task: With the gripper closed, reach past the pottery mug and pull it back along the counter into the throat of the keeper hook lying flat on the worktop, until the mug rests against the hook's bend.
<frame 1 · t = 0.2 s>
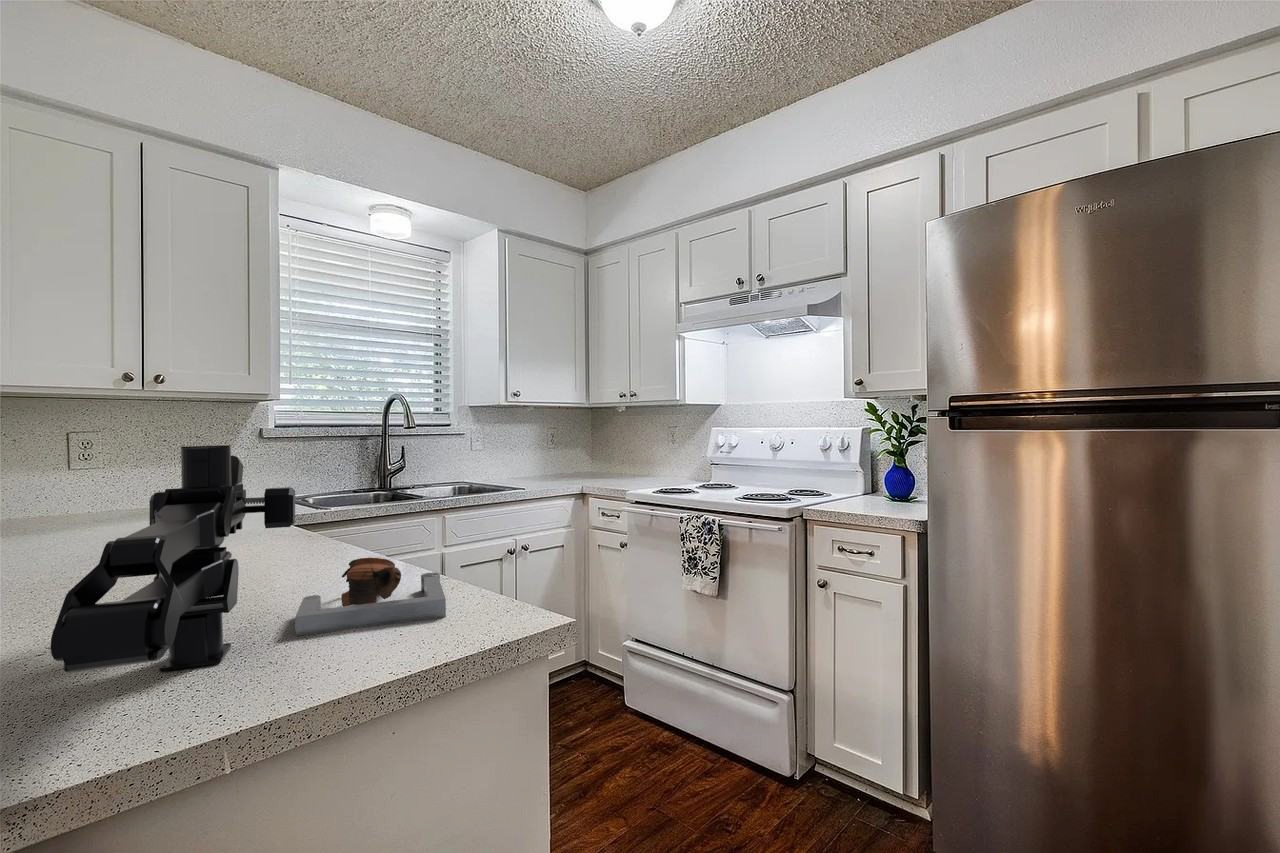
hand: (238, 503, 104), 17 cm above the counter, tool horizontal, fingers open, 9 cm apart
pottery mug: (373, 601, 106), on the counter
keeper hook: (377, 620, 95), on the counter
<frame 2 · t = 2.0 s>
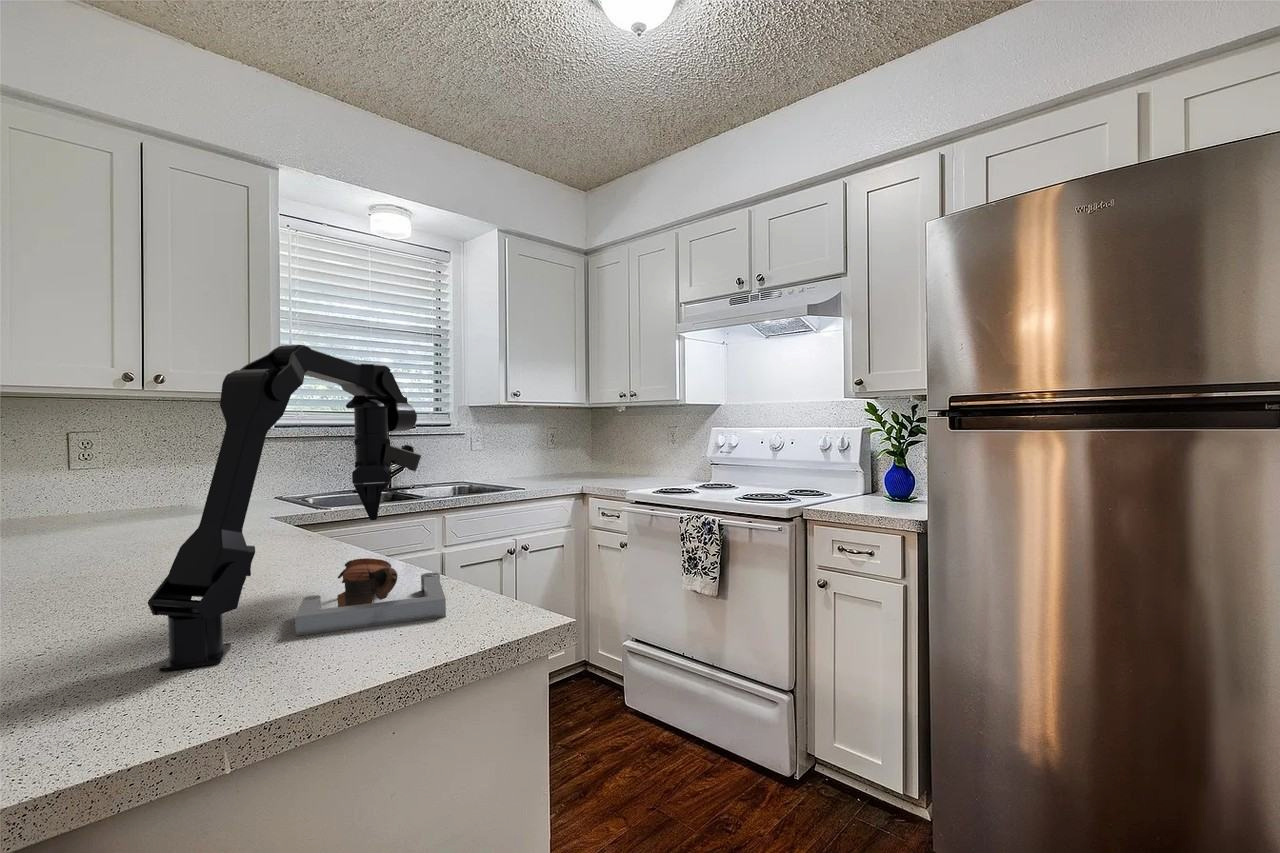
hand: (373, 517, 115), 13 cm above the counter, tool pointing down, fingers open, 7 cm apart
nothing on the counter moved.
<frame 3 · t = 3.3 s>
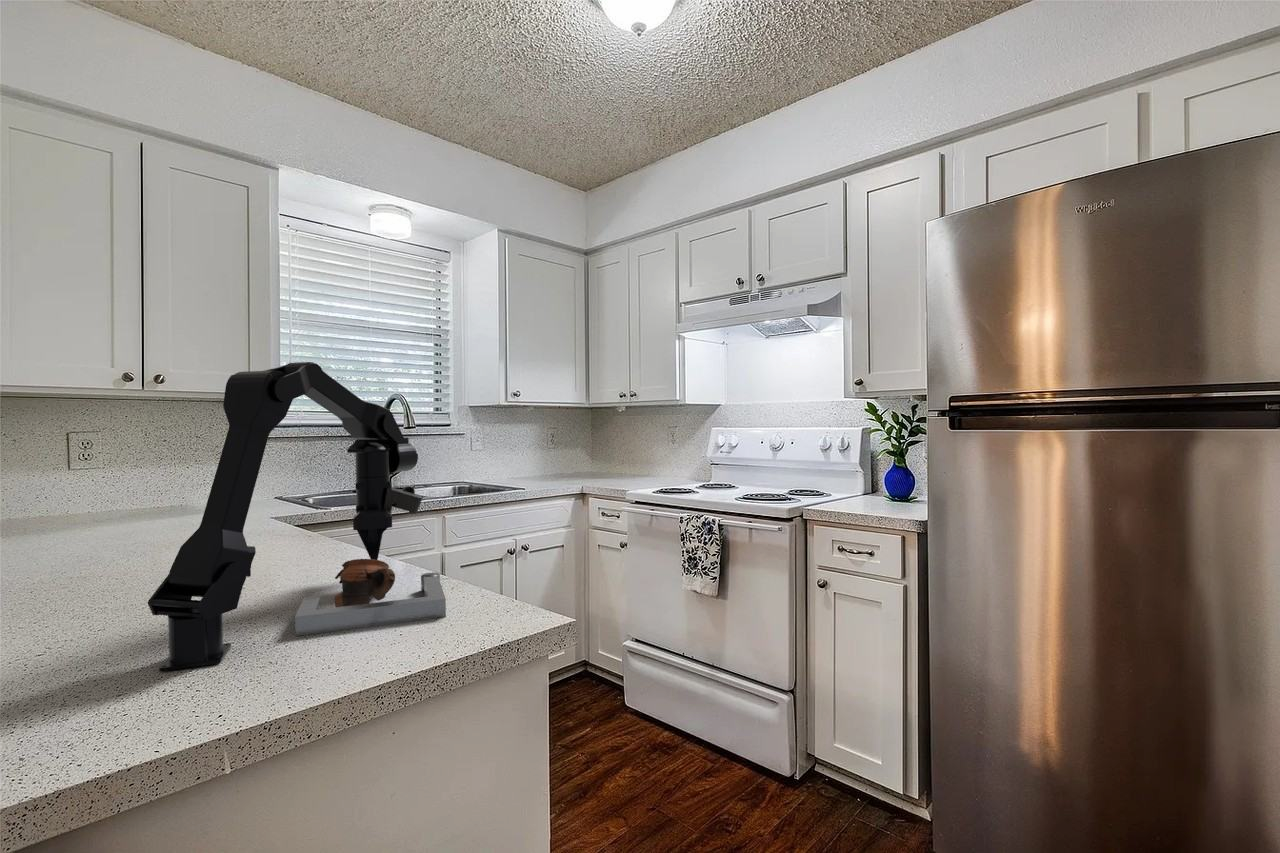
hand: (374, 559, 115), 5 cm above the counter, tool pointing down, fingers closed
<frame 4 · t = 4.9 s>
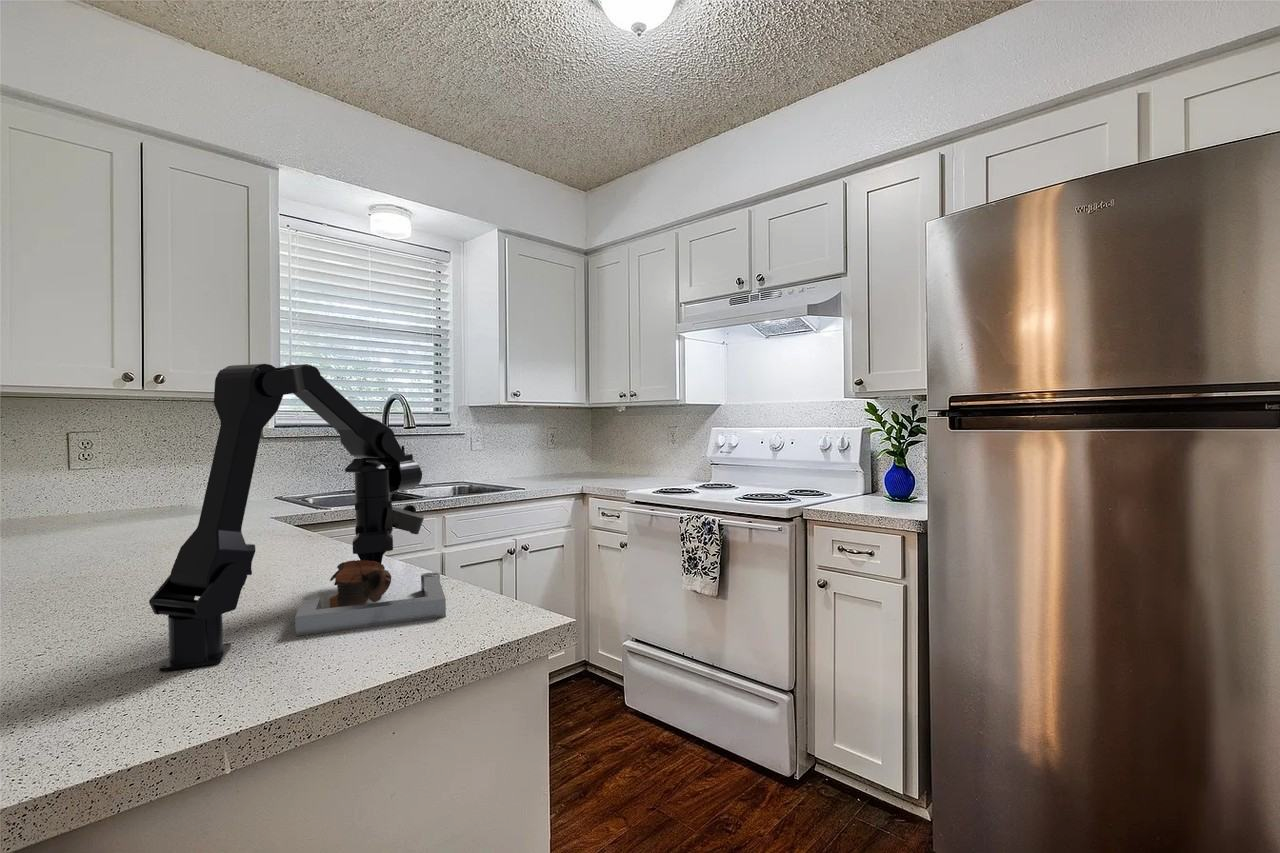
hand: (374, 582, 111), 1 cm above the counter, tool pointing down, fingers closed
pottery mug: (363, 604, 104), on the counter, touching gripper
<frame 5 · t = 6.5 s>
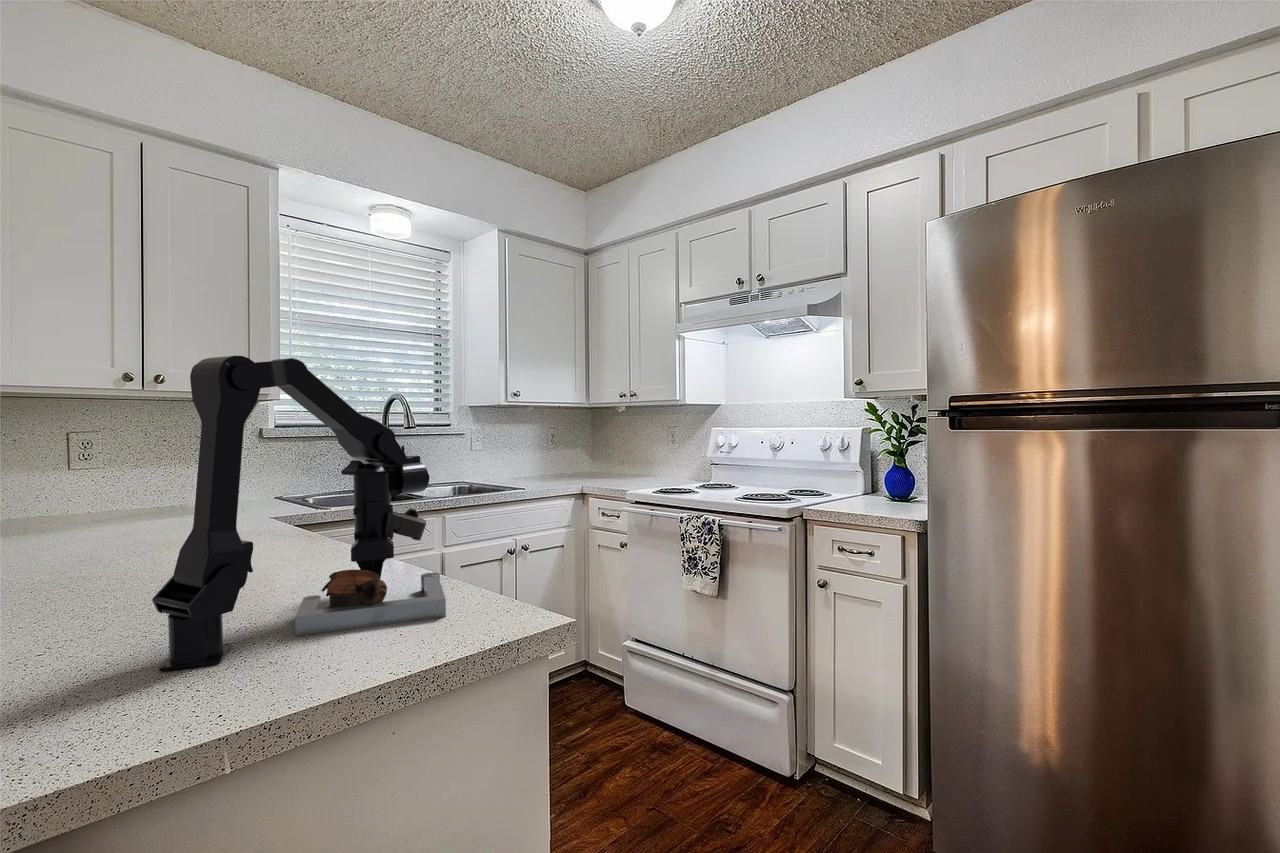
hand: (374, 590, 106), 2 cm above the counter, tool pointing down, fingers closed
pottery mug: (356, 616, 98), on the counter
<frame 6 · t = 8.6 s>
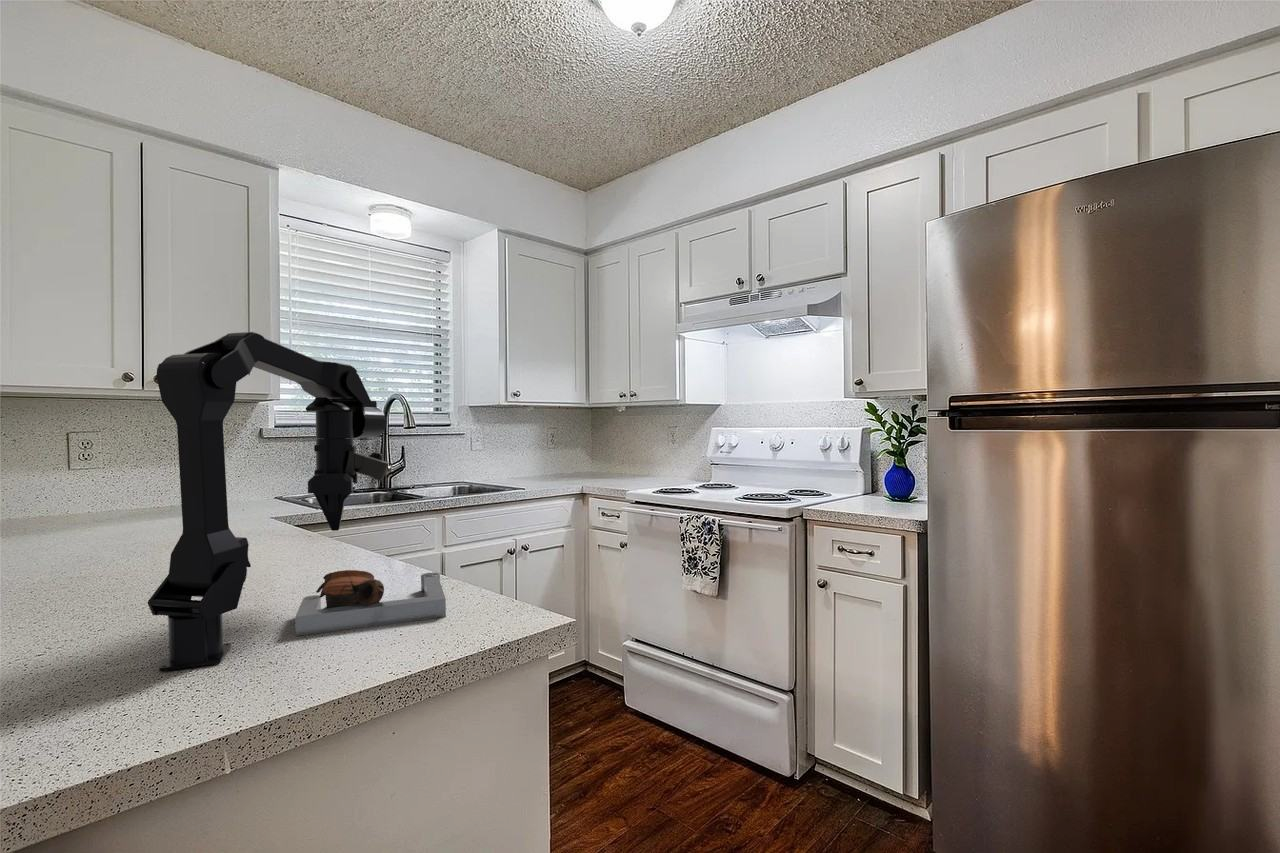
hand: (335, 530, 106), 12 cm above the counter, tool pointing down, fingers closed
nothing on the counter moved.
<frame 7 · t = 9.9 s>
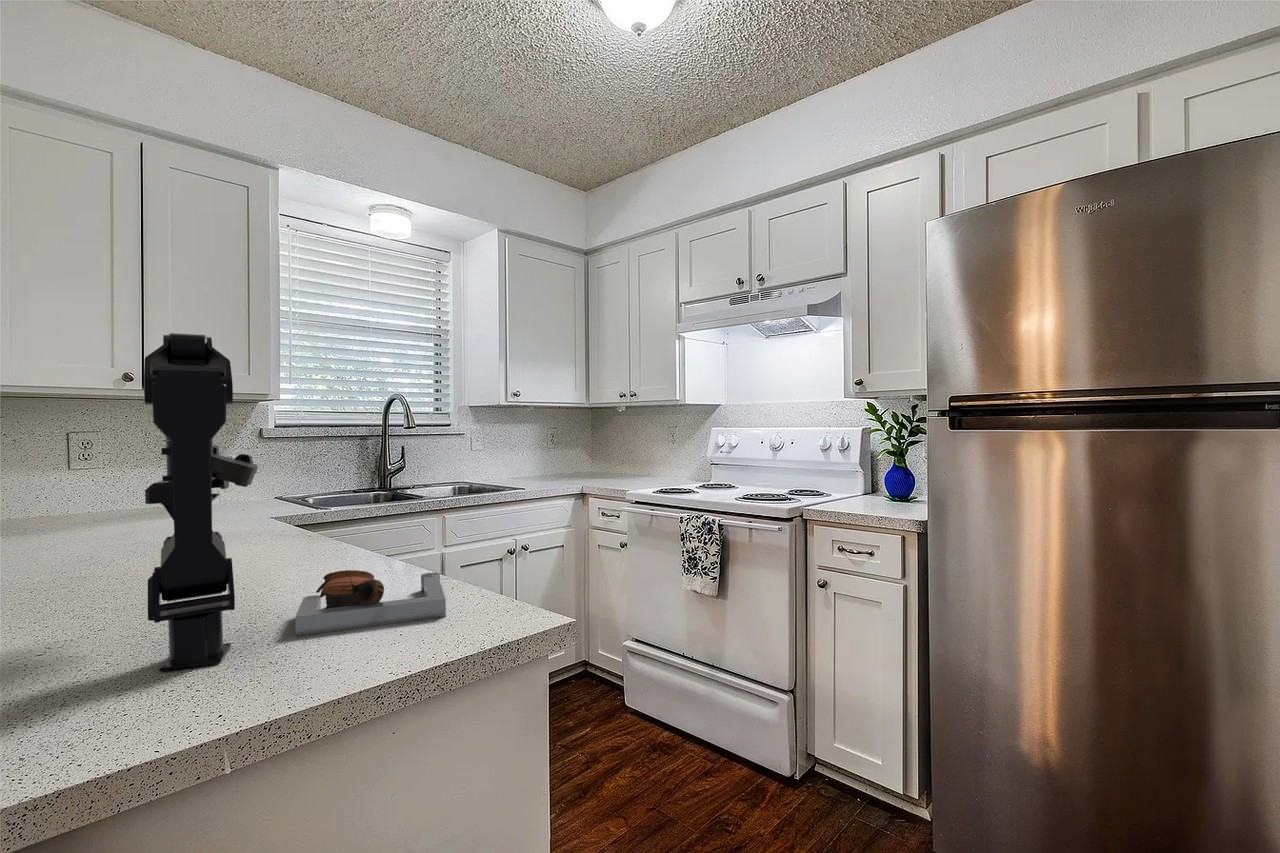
hand: (192, 543, 94), 13 cm above the counter, tool pointing down, fingers closed
nothing on the counter moved.
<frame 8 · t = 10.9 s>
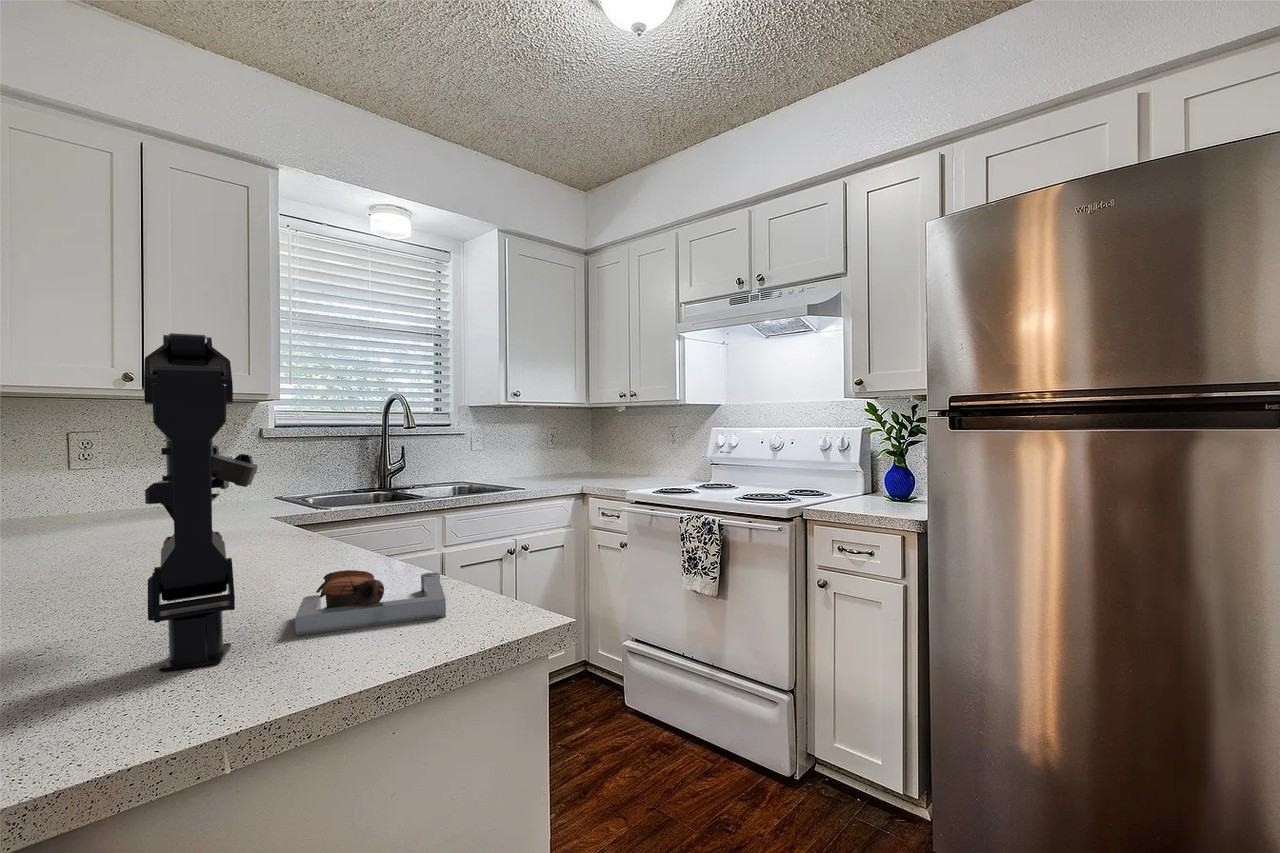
hand: (192, 543, 94), 13 cm above the counter, tool pointing down, fingers closed
nothing on the counter moved.
at the end: pottery mug inside the target area on the keeper hook (3.7 cm from its centre), point 0.0 cm above the keeper hook's base; pottery mug tilted 0°; pottery mug moved 8.5 cm from its start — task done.
